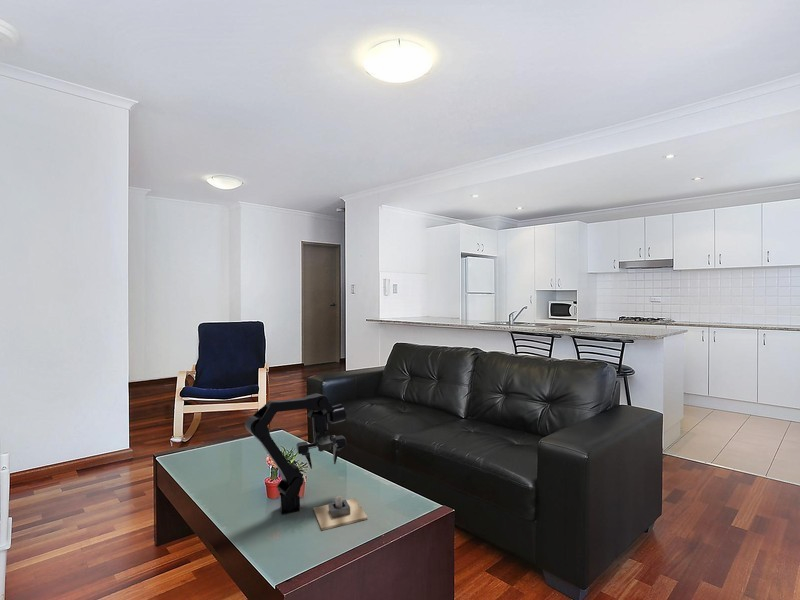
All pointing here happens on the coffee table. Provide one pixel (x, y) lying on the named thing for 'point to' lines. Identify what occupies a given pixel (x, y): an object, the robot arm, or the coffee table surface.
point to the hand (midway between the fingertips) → (323, 466)
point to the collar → (339, 509)
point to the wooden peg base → (354, 516)
